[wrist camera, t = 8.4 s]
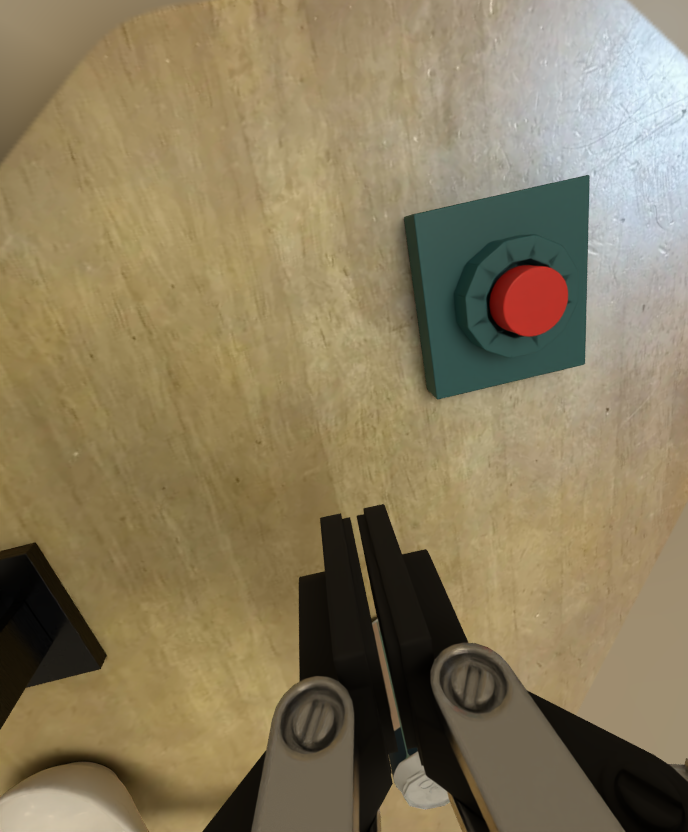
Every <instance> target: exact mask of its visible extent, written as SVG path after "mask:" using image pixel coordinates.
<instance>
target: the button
mask: <svg viewBox="0 0 688 832" xmlns="http://www.w3.org/2000/svg"><path fill="white" fill-rule="evenodd" d="M567 301H568V289H567V285H566V282H565V280H564V278H563V277H562V276H561V274H560V273H559V272H557V271H556V270H554V269H552V268H549V267H544V266H531V265H522V266H517V267H514V268H512V269H510V270H508V271H507V272H506V273H504V274H503V275H502V276H501V277H500V278H499V279H498V281H497V282H496V283H495V285H494V287H493V289H492V292H491V295H490V301H489V307H490V312H491V315H492V318H493V319H494V321H495V322H496V324H497V325H499V326H500V327H501V328H503V329H505V330H508V331H510V332H513V333H516V334H518V335H521V336H527V337H530V336H537V335H540V334H542V333H545V332H546V331H548V330H550V329H551V328H552V327H553V326H554V325H556V323H557V322H558V321H559V320H560V318H561V317H562V315H563V313H564V311H565V309H566V306H567Z"/></svg>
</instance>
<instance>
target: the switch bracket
mask: <svg viewBox="0 0 688 832" xmlns="http://www.w3.org/2000/svg"><path fill="white" fill-rule="evenodd" d="M105 658H106V654H105V652H104V651H103V649H102V648H101V646H100V644H99V643H98V641H97V640H96V638H95V636H94V635H93V633H92V632H91V630H90V629H89V627H88V625H87V624H86V622H85V621H84V619H83V617H82V616H81V614H80V613H79V611H78V609H77V608H76V606H75V605H74V603H73V602H72V600H71V598H70V597H69V595H68V594H67V592H66V590H65V589H64V587H63V586H62V584H61V582H60V581H59V579H58V578H57V576H56V575H55V573H54V571H53V570H52V568H51V567H50V565H49V563H48V562H47V560H46V559H45V557H44V556H43V554H42V552H41V551H40V549H39V548H38V546H37V544H36V543H33V544H28V545H24V546H20V547H16V548H12V549H8V550H4V551H0V729H1V728H2V726H3V724H4V723H5V721H6V719H7V718H8V716H9V715H10V713H11V711H12V710H13V708H14V706H15V705H16V703H17V701H18V700H19V698H20V696H21V695H22V693H23V691H24V690H25V688H27V687H31V686H35V685H39V684H43V683H47V682H51V681H55V680H59V679H63V678H67V677H71V676H75V675H79V674H83V673H87V672H91V671H95V670H99V669H101V667H102V665H103V663H104V661H105Z"/></svg>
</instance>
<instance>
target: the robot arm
mask: <svg viewBox="0 0 688 832" xmlns="http://www.w3.org/2000/svg"><path fill="white" fill-rule="evenodd" d="M357 520H358V525H359V530H360V535H361V540H362V545H363V550H364V555H365V560H366V565H367V570H368V575H369V580H370V585H371V590H372V595H373V600H374V605H375V609H376V614H377V618H378V623H379V627H380V632H381V636H382V641H383V645H384V650H385V654H386V659H387V663H388V668H389V672H390V676H391V681H392V685H393V690H394V694H395V699H396V703H397V708H398V712H399V717H400V721H401V726H402V730H403V735H404V739H405V744H406V748H407V749H411V748H416V747H417V750H418V754H419V758H420V762H421V766H424V770H425V775H426V776H427V777H428V778H430V779H431V780H432V781H434V782H435V783H436V784H438V785H439V786H440V787H442V788H443V789H444V790H446V791H447V794H448V797H449V801H450V803H451V806H452V808H453V810H454V813H455V815H456V818H457V820H458V823H459V825H460V827H461V830H462V832H688V759H687V758H686V761H685V765H677V764H667V763H666V762H664V761H662V760H661V759H659V758H658V757H656V756H655V755H653V754H651V753H649V752H647V751H645V750H643V749H641V748H639V747H637V746H635V745H633V744H631V743H629V742H627V741H625V740H623V739H621V738H619V737H617V736H616V735H614V734H612V733H609V732H608V731H606V730H604V729H602V728H600V727H598V726H596V725H594V724H592V723H590V722H588V721H586V720H584V719H582V718H580V717H578V716H576V715H574V714H572V713H570V712H568V711H566V710H564V709H562V708H560V707H558V706H557V705H555V704H553V703H551V702H549V701H547V700H545V699H543V698H541V697H539V696H537V695H535V694H533V693H531V692H529V691H527V690H526V689H525V687H524V686H523V685H522V683H521V682H520V680H519V679H518V677H517V676H516V675H515V673H514V672H513V670H512V669H511V667H510V666H509V665H508V664H507V662H506V661H505V660H504V659H503V658H502V657H501V656H500V655H499V654H497V653H496V652H494V651H493V650H491V649H490V648H488V647H485V646H482V645H479V644H476V643H468V641H467V638H466V636H465V634H464V632H463V629H462V627H461V625H460V623H459V620H458V618H457V616H456V614H455V611H454V609H453V607H452V604H451V602H450V600H449V598H448V595H447V593H446V591H445V589H444V586H443V584H442V582H441V580H440V577H439V575H438V573H437V571H436V568H435V566H434V564H433V562H432V559H431V557H430V555H429V553H428V551H427V550H426V549H425V550H420V551H416V552H411V553H407V554H402V553H401V550H400V548H399V545H398V542H397V539H396V536H395V533H394V531H393V528H392V525H391V522H390V519H389V516H388V514H387V511H386V508H385V505H384V504H382V505H377V506H373V507H368V508H364V514H363V515H358V516H357ZM320 523H321V533H322V544H323V555H324V566H325V572H320V573H316V574H311V575H307V576H302V577H300V578H299V663H300V682H299V683H297V684H295V685H293V686H292V687H291V688H290V689H289V690H288V691H287V692H286V693H285V694H284V695H283V697H282V698H281V700H280V701H279V703H278V705H277V706H276V709H275V712H274V715H273V718H272V723H271V728H270V734H269V739H268V744H267V750H266V751H265V752H264V754H263V755H262V756H261V757H260V759H259V760H258V761H257V763H256V764H255V765H254V766H253V768H252V769H251V770H250V772H249V773H248V774H247V775H246V777H245V778H244V779H243V780H242V782H241V783H240V784H239V786H238V787H237V788H236V789H235V791H234V792H233V793H232V795H231V796H230V797H229V798H228V800H227V801H226V802H225V803H224V805H223V806H222V807H221V809H220V810H219V811H218V812H217V814H216V815H215V816H214V817H213V819H212V820H211V821H210V823H209V824H208V825H207V826H206V828H205V829H204V830H203V832H381V815H380V809H379V808H380V806H381V804H382V802H383V801H384V799H385V797H386V795H387V793H388V791H389V789H390V787H391V786H392V784H393V783H392V778H391V773H392V772H391V766H390V761H389V755H388V754H390V753H394V752H398V747H397V742H396V737H395V733H394V728H393V723H392V718H391V713H390V708H389V703H388V699H387V694H386V689H385V684H384V679H383V674H382V669H381V665H380V660H379V655H378V650H377V645H376V640H375V635H374V631H373V626H372V621H371V616H370V611H369V606H368V601H367V597H366V592H365V587H364V582H363V577H362V573H361V568H360V563H359V558H358V553H357V548H356V544H355V539H354V534H353V529H352V524H351V520H350V517H349V518H344V519H342V516H341V513H340V514H335V515H331V516H326V517H322V518H320Z"/></svg>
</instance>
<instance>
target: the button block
mask: <svg viewBox="0 0 688 832" xmlns="http://www.w3.org/2000/svg"><path fill="white" fill-rule="evenodd" d="M588 217H589V175H586V176H581V177H577V178H573V179H568V180H564V181H559V182H555V183H550V184H546V185H541V186H537V187H533V188H528V189H524V190H519V191H515V192H510V193H506V194H501V195H497V196H493V197H488V198H484V199H479V200H475V201H470V202H466V203H461V204H457V205H453V206H448V207H444V208H439V209H435V210H430V211H426V212H421V213H417V214H413V215H409V216H406V217H404V222H405V229H406V237H407V244H408V252H409V259H410V266H411V274H412V281H413V289H414V296H415V303H416V311H417V318H418V326H419V333H420V340H421V348H422V355H423V363H424V370H425V377H426V385H427V389H428V390H429V392H430V393H431V394H432V395H433V396H434V397H435V398H436V399H442V398H446V397H450V396H454V395H459V394H463V393H467V392H471V391H475V390H479V389H484V388H488V387H492V386H496V385H500V384H505V383H509V382H513V381H517V380H521V379H526V378H530V377H534V376H538V375H542V374H547V373H551V372H555V371H559V370H563V369H568V368H572V367H576V366H580V365H584V364H585V341H586V300H587V258H588ZM522 265H531V266H544V267H549V268H552V269H554V270H556V271H557V272H559V273H560V274H561V276H562V277H563V278H564V280H565V282H566V285H567V289H568V301H567V306H566V309H565V311H564V313H563V315H562V317H561V318H560V320H559V321H558V322H557V323H556V325H554V326H553V327H552V328H551V329H550V330H548V331H546V332H545V333H542V334H540V335H537V336H530V337H527V336H521V335H518V334H516V333H513V332H510V331H508V330H505V329H503V328H501V327H500V326H499V325H497V324H496V322H495V321H494V319H493V318H492V315H491V312H490V307H489V301H490V295H491V292H492V289H493V287H494V285H495V283H496V282H497V281H498V279H499V278H500V277H501V276H502V275H503V274H504V273H506V272H507V271H508V270H510V269H512V268H514V267H517V266H522Z"/></svg>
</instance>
